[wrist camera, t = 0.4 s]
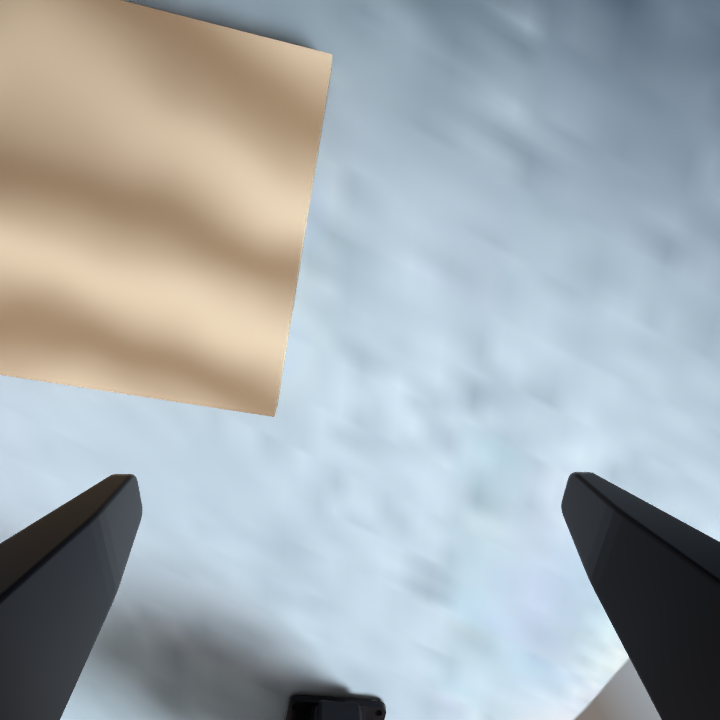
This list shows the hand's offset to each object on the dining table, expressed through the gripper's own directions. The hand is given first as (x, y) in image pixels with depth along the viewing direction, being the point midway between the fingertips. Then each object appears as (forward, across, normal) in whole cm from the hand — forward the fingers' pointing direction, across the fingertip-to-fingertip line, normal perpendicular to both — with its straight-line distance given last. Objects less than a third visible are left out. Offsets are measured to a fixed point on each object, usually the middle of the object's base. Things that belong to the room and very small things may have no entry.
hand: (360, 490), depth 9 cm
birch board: (+15, +10, -4) cm, 18 cm away
